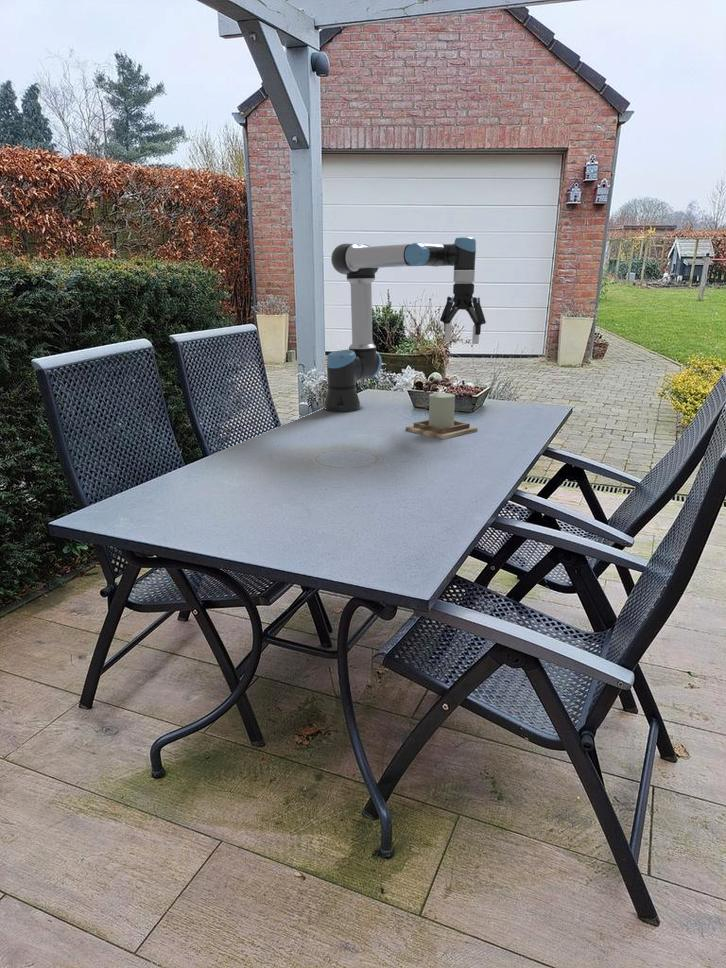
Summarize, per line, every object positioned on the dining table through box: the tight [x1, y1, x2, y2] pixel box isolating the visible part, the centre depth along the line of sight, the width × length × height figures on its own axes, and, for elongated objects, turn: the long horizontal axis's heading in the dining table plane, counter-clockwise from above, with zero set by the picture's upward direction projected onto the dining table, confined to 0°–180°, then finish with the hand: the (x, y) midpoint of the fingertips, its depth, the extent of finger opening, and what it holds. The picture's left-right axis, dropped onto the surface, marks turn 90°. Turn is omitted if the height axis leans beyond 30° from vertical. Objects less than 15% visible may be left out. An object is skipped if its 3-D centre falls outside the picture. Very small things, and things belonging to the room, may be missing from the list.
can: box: [428, 392, 456, 429], centre depth 226 cm, size 9×9×12 cm
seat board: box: [405, 419, 478, 440], centre depth 227 cm, size 18×18×3 cm
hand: (461, 342), depth 238 cm, fingers open, 13 cm apart
